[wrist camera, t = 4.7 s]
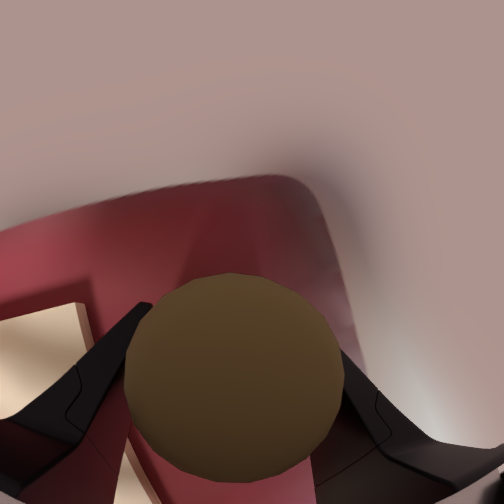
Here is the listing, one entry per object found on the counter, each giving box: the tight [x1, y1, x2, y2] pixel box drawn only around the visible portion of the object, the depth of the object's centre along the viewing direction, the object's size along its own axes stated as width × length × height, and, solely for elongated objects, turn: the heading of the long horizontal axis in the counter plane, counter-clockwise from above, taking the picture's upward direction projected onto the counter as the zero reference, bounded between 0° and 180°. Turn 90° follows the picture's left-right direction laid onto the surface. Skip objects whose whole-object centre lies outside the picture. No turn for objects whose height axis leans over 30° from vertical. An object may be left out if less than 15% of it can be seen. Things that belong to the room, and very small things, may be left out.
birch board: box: [0, 302, 162, 504], centre depth 11 cm, size 18×13×2 cm
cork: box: [124, 273, 345, 483], centre depth 10 cm, size 6×6×11 cm
